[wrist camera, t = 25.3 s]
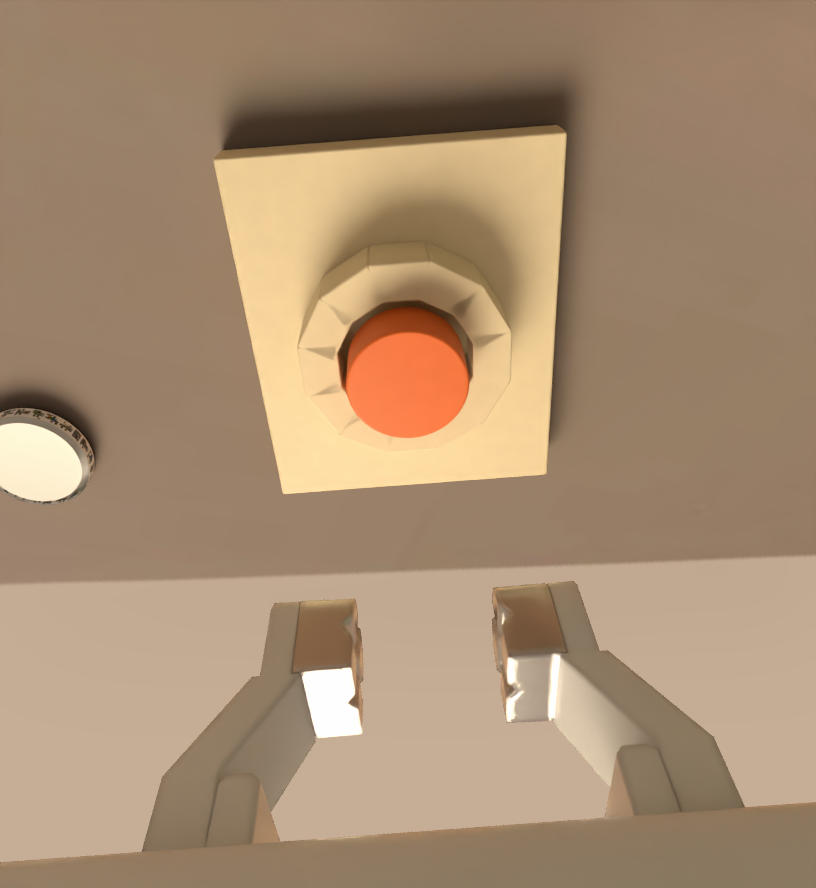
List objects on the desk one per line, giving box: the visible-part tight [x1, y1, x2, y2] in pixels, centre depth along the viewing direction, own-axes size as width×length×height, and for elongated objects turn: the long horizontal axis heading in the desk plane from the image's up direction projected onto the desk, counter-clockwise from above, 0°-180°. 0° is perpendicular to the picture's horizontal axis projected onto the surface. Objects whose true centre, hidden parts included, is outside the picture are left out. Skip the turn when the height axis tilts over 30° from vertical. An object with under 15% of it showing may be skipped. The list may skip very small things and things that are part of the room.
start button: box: [346, 307, 470, 438], centre depth 21 cm, size 4×4×2 cm
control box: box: [214, 125, 567, 494], centre depth 23 cm, size 10×12×3 cm
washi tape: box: [0, 408, 94, 505], centre depth 26 cm, size 4×4×1 cm
